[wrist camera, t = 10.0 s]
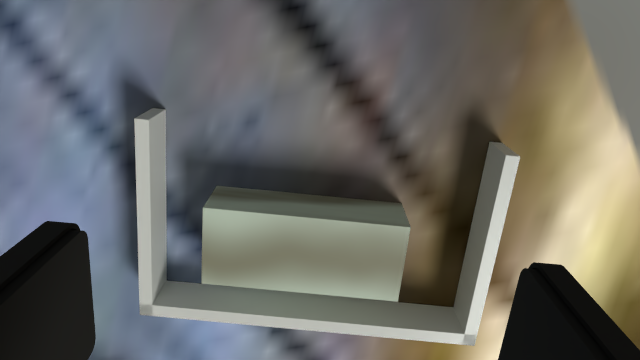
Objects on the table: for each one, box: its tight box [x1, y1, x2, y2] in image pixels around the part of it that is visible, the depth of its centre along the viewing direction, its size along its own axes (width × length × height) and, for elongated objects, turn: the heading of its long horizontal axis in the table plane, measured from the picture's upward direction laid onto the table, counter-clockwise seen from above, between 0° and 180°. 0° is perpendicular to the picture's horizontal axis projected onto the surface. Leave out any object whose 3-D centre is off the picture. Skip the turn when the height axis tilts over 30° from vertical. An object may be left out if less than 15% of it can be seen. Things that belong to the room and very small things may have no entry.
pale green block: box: [202, 186, 411, 302], centre depth 31 cm, size 5×12×4 cm, turn 85°
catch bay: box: [134, 108, 520, 346], centre depth 31 cm, size 13×22×3 cm, turn 85°
